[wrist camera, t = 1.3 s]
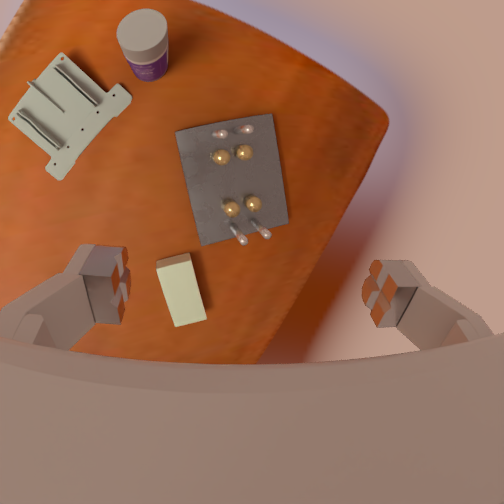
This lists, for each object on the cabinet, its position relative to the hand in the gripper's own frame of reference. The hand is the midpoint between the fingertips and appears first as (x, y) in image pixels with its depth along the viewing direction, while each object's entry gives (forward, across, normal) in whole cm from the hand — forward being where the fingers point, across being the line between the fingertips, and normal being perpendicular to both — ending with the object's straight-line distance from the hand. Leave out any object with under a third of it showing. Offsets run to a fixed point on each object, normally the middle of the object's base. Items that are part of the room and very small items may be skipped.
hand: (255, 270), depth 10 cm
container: (+34, -11, +7) cm, 37 cm away
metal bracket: (+32, -22, +1) cm, 39 cm away
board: (+28, -5, -24) cm, 38 cm away
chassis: (+32, +2, -8) cm, 33 cm away
